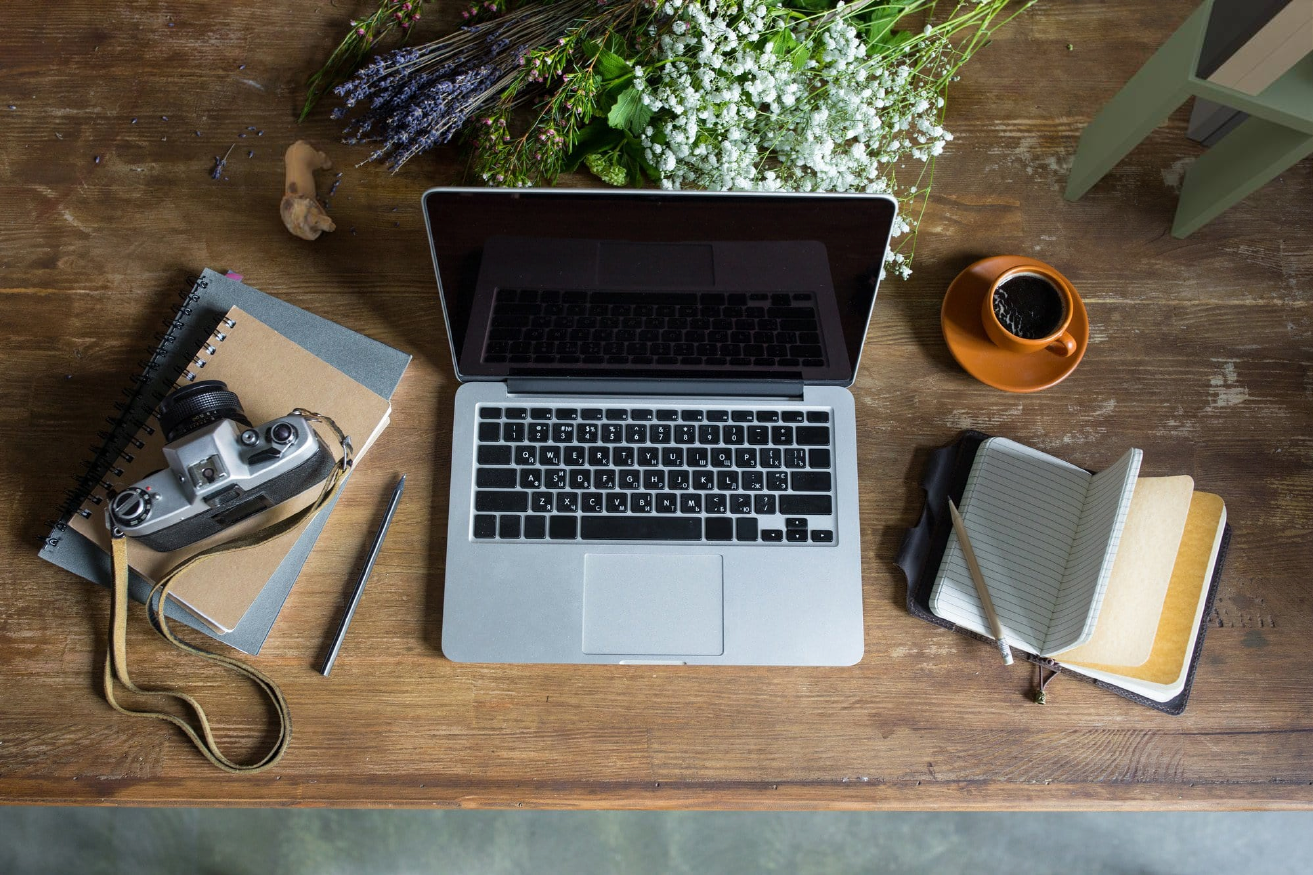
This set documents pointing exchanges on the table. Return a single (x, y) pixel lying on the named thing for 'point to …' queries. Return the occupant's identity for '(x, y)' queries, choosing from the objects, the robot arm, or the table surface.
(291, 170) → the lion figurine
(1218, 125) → the grey books
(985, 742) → the table surface
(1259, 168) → the shelf
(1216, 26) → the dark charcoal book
